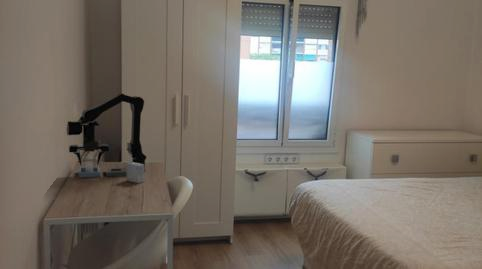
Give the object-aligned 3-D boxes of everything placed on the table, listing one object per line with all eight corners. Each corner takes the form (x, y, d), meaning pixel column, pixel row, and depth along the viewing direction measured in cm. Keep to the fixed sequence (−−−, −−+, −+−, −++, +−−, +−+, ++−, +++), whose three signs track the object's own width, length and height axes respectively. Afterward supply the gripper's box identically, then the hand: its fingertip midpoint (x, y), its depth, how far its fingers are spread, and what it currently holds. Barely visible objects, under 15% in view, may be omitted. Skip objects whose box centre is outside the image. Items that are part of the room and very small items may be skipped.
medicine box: (144, 181, 214) (144, 164, 213) (138, 183, 210) (138, 165, 209) (133, 179, 218) (133, 161, 217) (126, 180, 214) (126, 163, 213)
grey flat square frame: (125, 171, 234) (125, 167, 233) (126, 175, 224) (126, 171, 224) (105, 171, 230) (105, 168, 230) (106, 176, 221) (106, 172, 221)
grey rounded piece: (93, 172, 225) (93, 157, 224) (93, 174, 222) (93, 158, 221) (85, 172, 224) (85, 157, 223) (85, 174, 220) (85, 159, 219)
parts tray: (99, 171, 230) (99, 166, 230) (100, 177, 219) (100, 172, 219) (79, 172, 227) (78, 167, 227) (78, 177, 216) (78, 172, 215)
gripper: (68, 137, 209) (69, 169, 212) (109, 136, 216) (109, 167, 218) (69, 133, 220) (69, 164, 222) (108, 133, 226) (108, 163, 228)
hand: (89, 165), depth 222 cm, fingers open, 8 cm apart
